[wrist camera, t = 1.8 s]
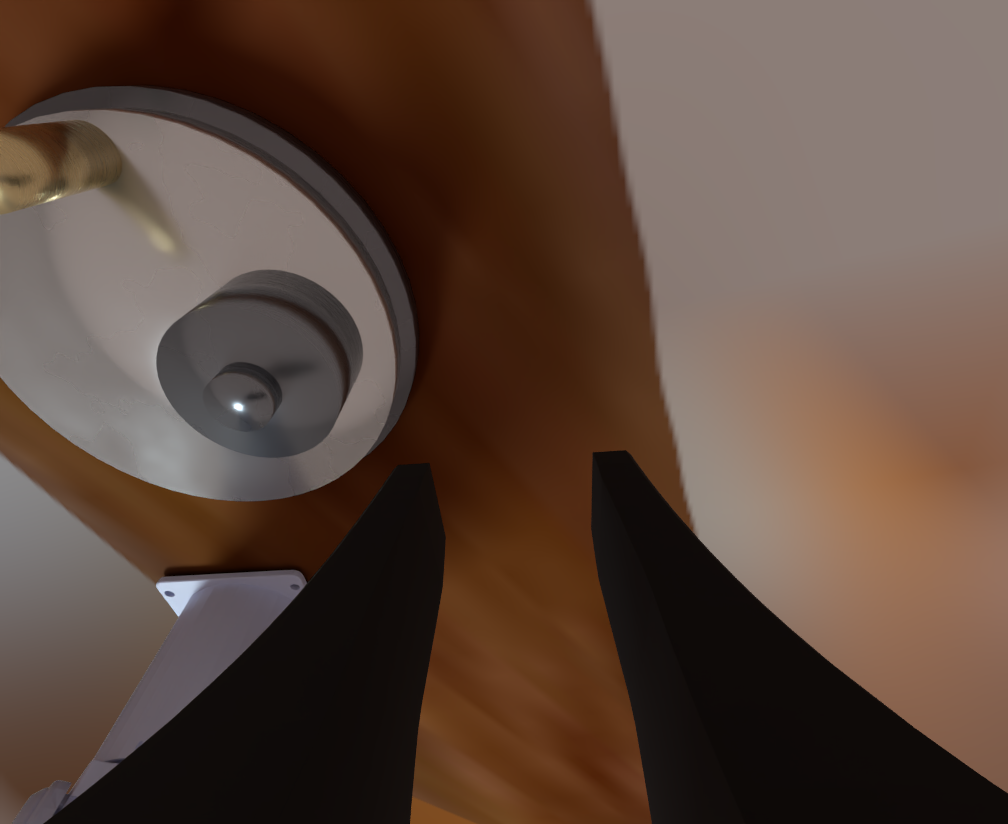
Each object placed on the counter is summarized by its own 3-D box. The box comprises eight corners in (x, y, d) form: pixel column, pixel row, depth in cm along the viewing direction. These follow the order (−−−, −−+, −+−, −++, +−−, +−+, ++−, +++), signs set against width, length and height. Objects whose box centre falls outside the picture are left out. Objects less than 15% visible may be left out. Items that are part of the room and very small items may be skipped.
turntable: (430, 471, 21) (413, 559, 18) (118, 491, 22) (36, 580, 18) (344, 82, 14) (280, 86, 10) (-133, 132, 14) (-371, 154, 10)
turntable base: (446, 461, 23) (444, 476, 22) (130, 482, 23) (116, 496, 23) (368, 59, 14) (359, 58, 14) (-120, 111, 15) (-156, 113, 14)
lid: (377, 400, 18) (351, 469, 15) (243, 409, 18) (189, 479, 15) (341, 262, 15) (298, 311, 12) (182, 276, 15) (100, 328, 12)
